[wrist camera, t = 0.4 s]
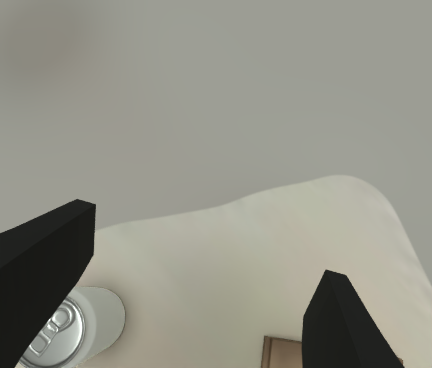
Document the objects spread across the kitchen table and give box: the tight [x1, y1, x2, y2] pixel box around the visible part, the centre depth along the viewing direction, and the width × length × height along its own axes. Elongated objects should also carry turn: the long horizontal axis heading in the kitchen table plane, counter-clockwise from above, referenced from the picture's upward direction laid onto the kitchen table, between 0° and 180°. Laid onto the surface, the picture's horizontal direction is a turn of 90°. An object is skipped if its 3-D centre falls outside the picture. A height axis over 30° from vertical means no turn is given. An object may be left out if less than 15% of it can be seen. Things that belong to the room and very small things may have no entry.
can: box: [19, 287, 125, 368], centre depth 33 cm, size 6×6×12 cm
